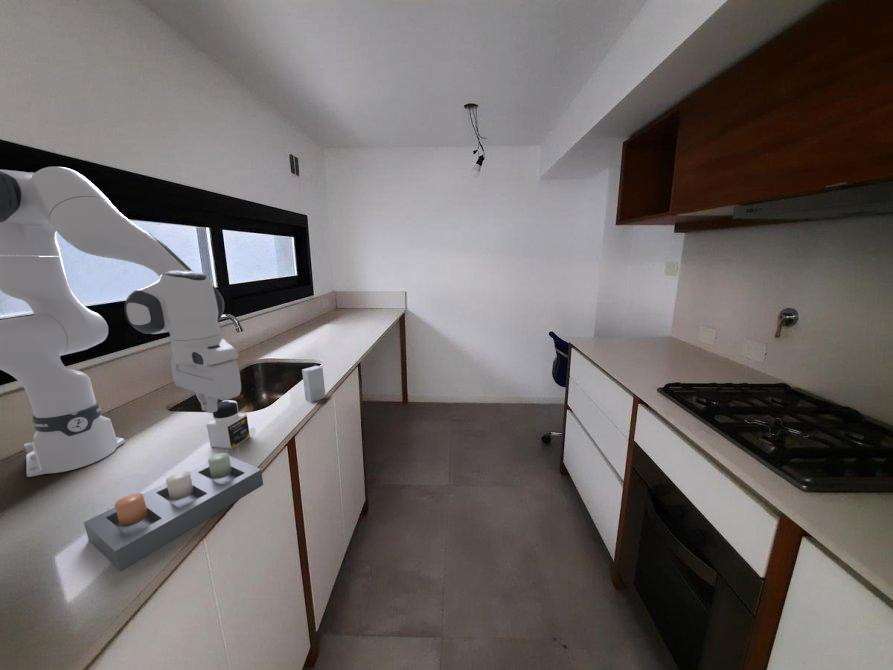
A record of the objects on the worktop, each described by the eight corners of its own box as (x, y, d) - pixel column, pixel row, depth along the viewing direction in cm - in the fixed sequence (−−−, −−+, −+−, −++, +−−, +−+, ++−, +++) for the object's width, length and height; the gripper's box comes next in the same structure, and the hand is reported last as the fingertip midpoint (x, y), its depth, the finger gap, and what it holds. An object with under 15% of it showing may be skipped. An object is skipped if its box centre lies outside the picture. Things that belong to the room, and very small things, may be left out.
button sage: (207, 475, 79) (204, 459, 78) (225, 466, 83) (222, 451, 82) (217, 480, 77) (214, 464, 76) (235, 471, 81) (232, 455, 80)
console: (88, 540, 66) (83, 522, 66) (228, 468, 88) (226, 454, 88) (120, 571, 60) (115, 551, 59) (263, 484, 82) (261, 469, 81)
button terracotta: (115, 521, 66) (111, 503, 65) (142, 508, 69) (137, 490, 68) (125, 529, 64) (120, 510, 63) (151, 515, 67) (147, 497, 66)
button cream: (165, 496, 73) (162, 479, 72) (187, 485, 76) (184, 469, 75) (175, 502, 71) (171, 485, 70) (197, 491, 74) (194, 474, 73)
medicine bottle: (231, 449, 97) (224, 409, 95) (209, 447, 99) (202, 407, 96) (250, 436, 104) (244, 398, 102) (229, 434, 106) (223, 397, 103)
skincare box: (319, 395, 135) (316, 364, 132) (326, 397, 132) (323, 366, 129) (304, 400, 130) (301, 369, 127) (311, 403, 127) (307, 371, 125)
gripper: (157, 347, 76) (169, 407, 79) (209, 359, 66) (221, 426, 69) (189, 341, 81) (200, 397, 84) (242, 351, 72) (252, 414, 75)
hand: (210, 410), depth 77 cm, fingers closed
